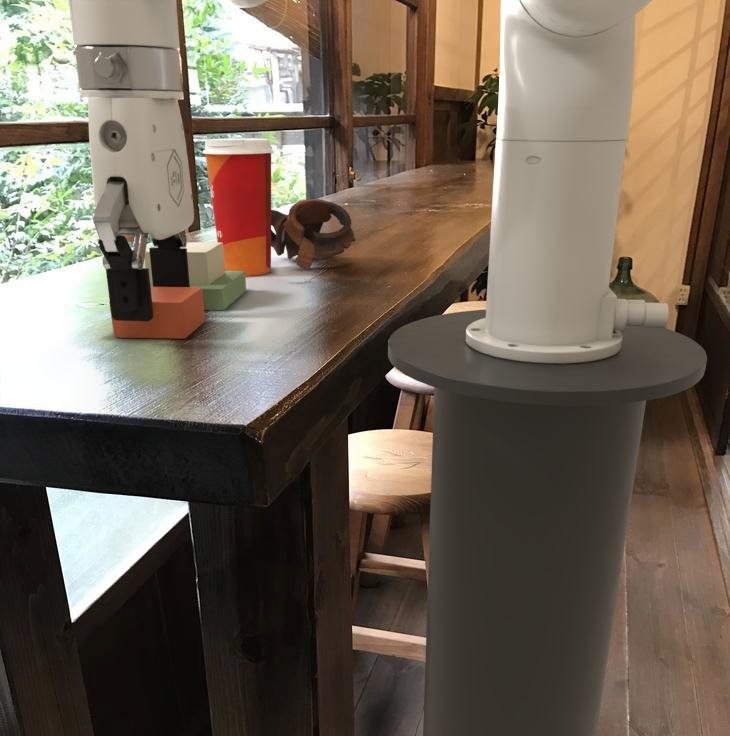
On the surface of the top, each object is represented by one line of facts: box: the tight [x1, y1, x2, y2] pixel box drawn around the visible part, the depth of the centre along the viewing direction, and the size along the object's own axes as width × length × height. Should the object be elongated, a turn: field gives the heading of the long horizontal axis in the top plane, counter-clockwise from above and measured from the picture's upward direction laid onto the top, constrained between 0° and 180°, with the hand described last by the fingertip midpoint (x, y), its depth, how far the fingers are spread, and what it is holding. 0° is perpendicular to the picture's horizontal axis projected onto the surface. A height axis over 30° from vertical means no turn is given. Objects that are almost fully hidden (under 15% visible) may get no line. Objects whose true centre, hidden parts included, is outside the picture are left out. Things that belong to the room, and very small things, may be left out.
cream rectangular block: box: [144, 241, 225, 285], centre depth 78 cm, size 6×6×3 cm
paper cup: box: [201, 137, 275, 277], centre depth 90 cm, size 8×8×14 cm
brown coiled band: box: [271, 198, 356, 271], centre depth 96 cm, size 12×10×8 cm
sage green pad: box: [150, 271, 247, 311], centre depth 79 cm, size 9×9×2 cm
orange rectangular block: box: [108, 287, 206, 340], centre depth 68 cm, size 6×6×3 cm
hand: (153, 306), depth 68 cm, fingers open, 9 cm apart
